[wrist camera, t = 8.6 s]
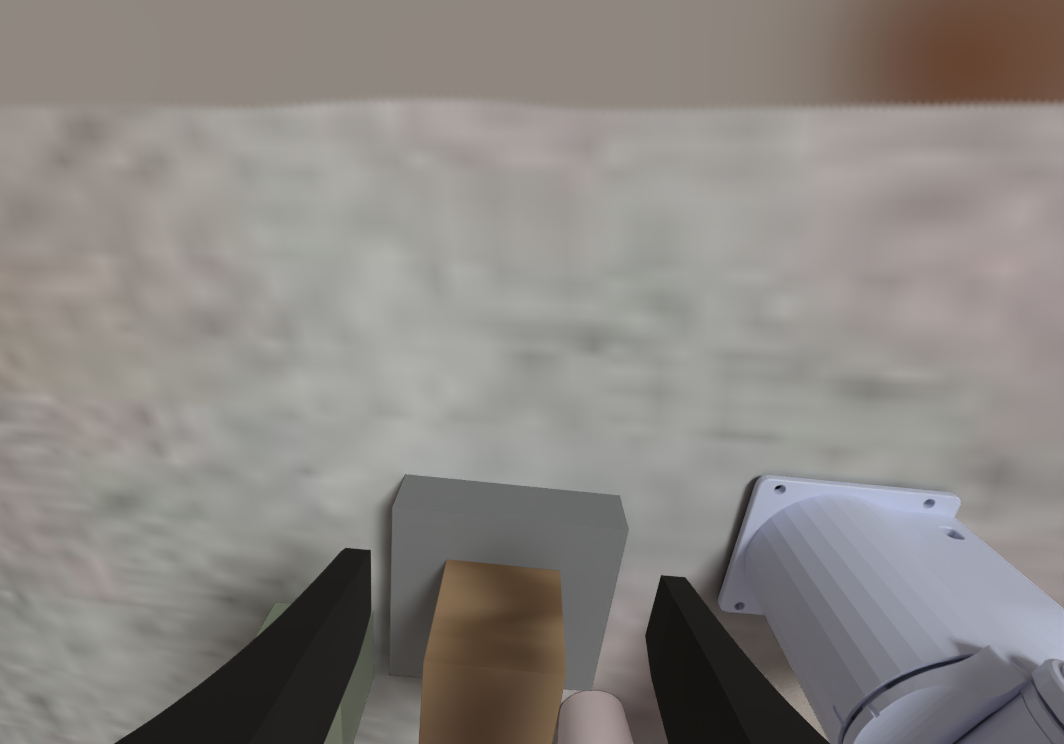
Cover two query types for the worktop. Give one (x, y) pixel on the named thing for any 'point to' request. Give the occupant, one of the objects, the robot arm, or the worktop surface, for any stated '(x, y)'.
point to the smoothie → (593, 720)
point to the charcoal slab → (504, 557)
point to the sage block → (357, 688)
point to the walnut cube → (494, 656)
